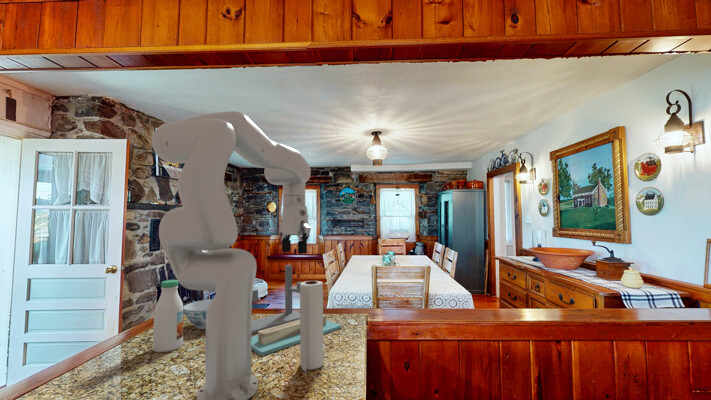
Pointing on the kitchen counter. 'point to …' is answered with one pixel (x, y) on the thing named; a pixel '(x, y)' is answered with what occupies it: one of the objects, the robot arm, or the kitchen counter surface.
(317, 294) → the paper towel roll
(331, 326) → the mat
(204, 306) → the chinaware
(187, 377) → the kitchen counter surface
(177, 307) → the milk bottle
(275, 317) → the rack
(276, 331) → the rail
